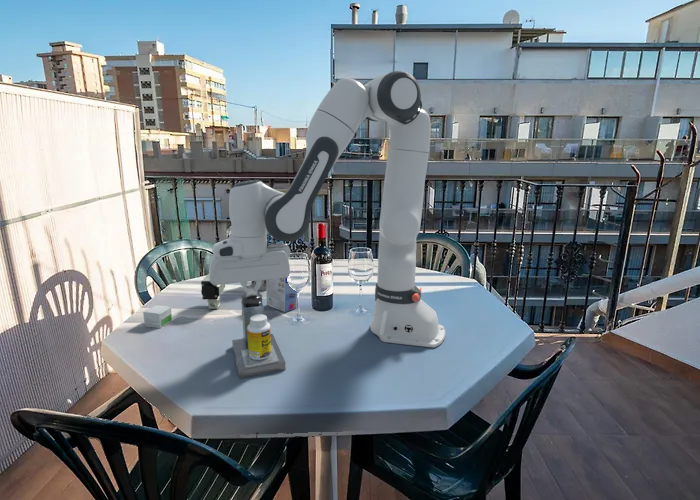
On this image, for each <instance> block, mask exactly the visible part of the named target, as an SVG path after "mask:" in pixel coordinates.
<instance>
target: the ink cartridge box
mask: <svg viewBox="0 0 700 500" xmlns="http://www.w3.org/2000/svg"><path fill="white" fill-rule="evenodd" d="M265 291H266V306H268V307H270V308H273V309H276V310H279V311H281V312H283V313H286V312H289V311H292V310H296V309H297V290H296V291H295V290H293V289H292V288H291V287H290V286H289V284H288V282H287V277H286V278H277V279H267V280H266V290H265Z"/></svg>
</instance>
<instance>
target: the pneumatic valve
mask: <svg viewBox="0 0 700 500" xmlns="http://www.w3.org/2000/svg"><path fill="white" fill-rule="evenodd" d="M200 284H201V285H200V286H201V291H200V293H201V295H202V297H201V298H202V300H204V301H205V300H207V305H208V307H207V309H208V310H211V309H212V310H214V309H215V310H219V309H220V307H221V306H222V305H221V297H220V296H221V294H222V293H223V291H224V290H225V288H226V284H220V285H213V284H212V283H211V282H210V279H209V273H207V275H206V276H205V277H204V278H203V279H202V280H201V282H200Z"/></svg>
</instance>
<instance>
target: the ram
mask: <svg viewBox="0 0 700 500" xmlns="http://www.w3.org/2000/svg"><path fill="white" fill-rule="evenodd" d="M241 301H242V303H241V305H242V304H244V305H248V306H254V305H258V304H260V303H263V295H262V294H261V293H259V292H258V296H255V297H247V298H246V293H244V294H243V295H242V296H241Z"/></svg>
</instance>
